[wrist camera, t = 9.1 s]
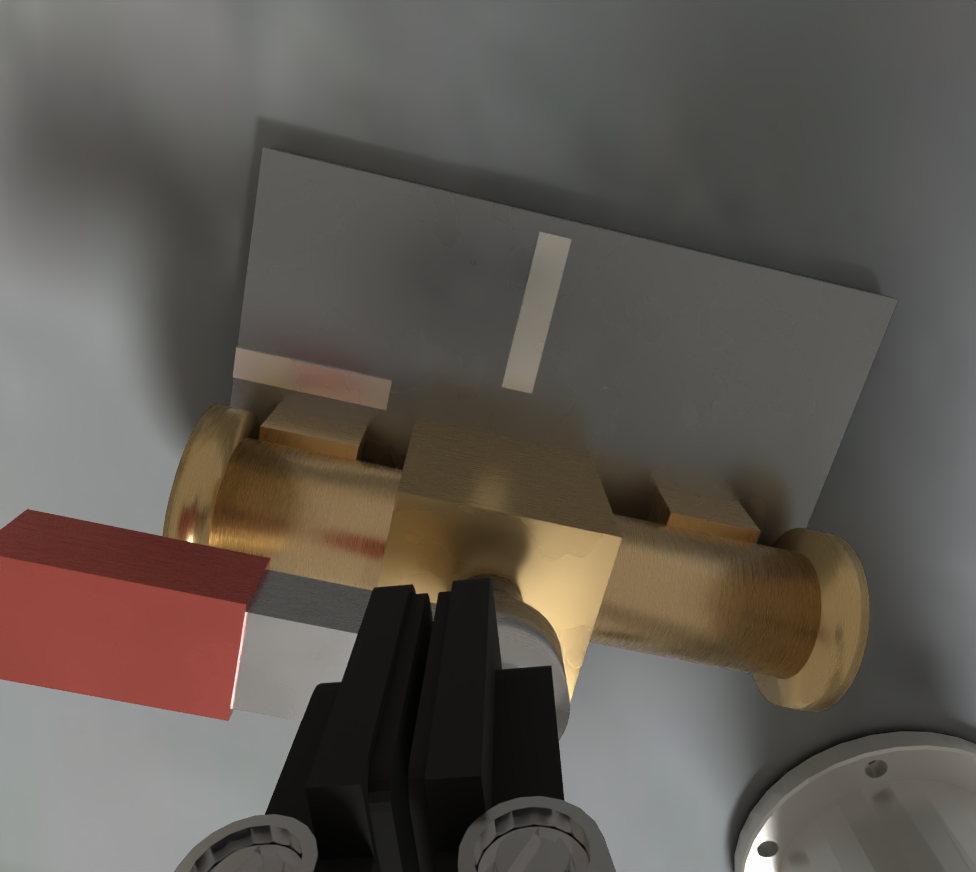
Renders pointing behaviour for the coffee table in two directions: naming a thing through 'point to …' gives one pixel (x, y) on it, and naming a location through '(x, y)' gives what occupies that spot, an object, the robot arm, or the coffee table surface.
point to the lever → (194, 622)
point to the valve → (540, 424)
